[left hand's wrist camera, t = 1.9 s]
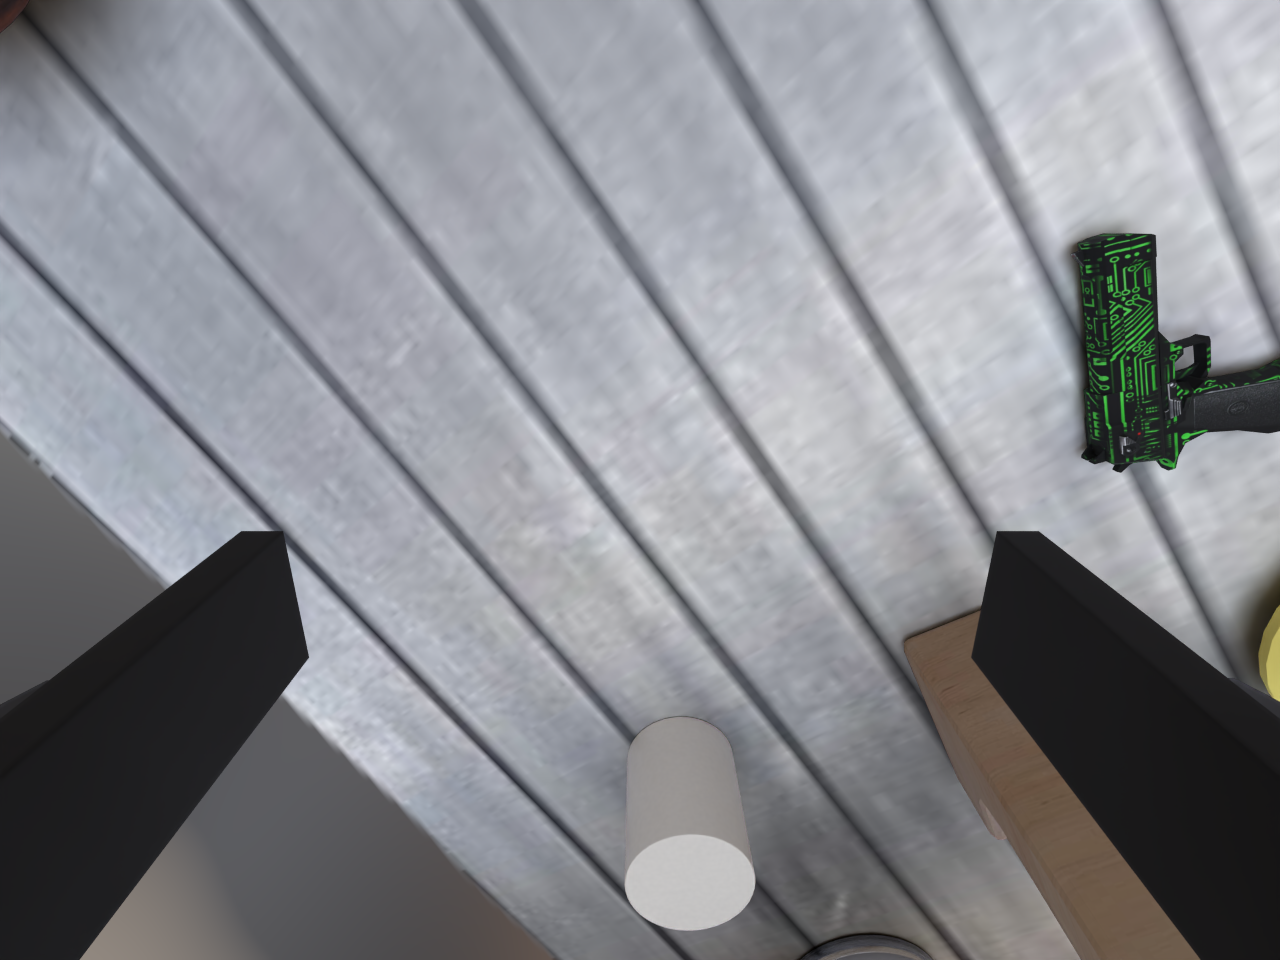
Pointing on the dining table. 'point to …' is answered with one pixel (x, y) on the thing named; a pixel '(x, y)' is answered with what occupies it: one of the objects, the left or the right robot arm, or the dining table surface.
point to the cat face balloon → (10, 11)
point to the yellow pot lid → (1271, 656)
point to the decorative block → (1037, 808)
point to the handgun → (1153, 366)
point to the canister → (685, 827)
